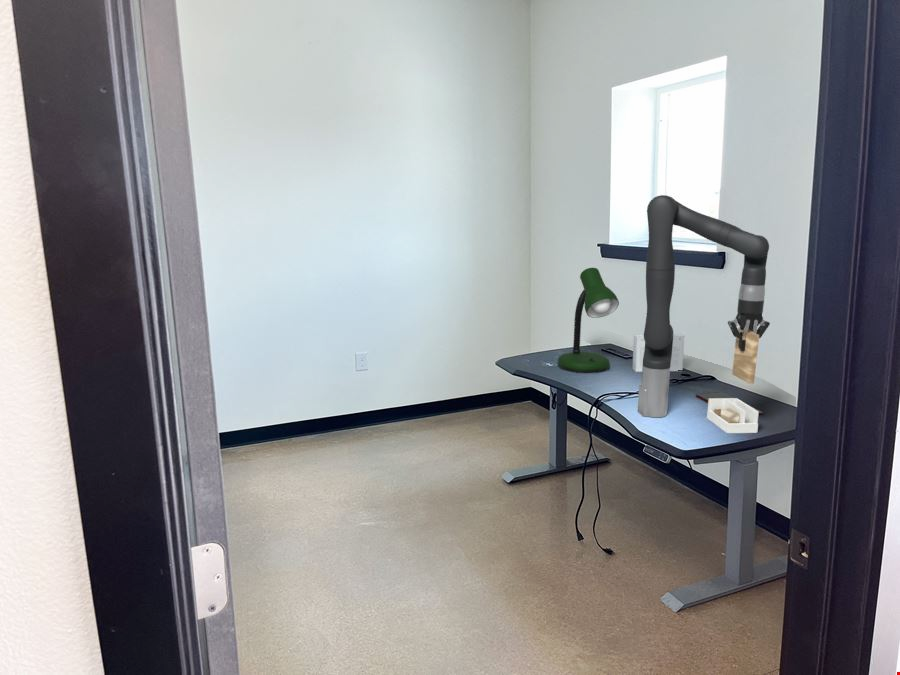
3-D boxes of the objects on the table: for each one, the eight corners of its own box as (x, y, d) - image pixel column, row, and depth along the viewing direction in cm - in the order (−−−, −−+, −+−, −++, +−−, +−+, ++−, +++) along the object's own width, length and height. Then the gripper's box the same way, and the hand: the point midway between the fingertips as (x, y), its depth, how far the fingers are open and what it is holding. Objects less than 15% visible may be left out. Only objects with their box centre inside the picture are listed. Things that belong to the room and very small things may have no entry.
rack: (727, 433, 211) (729, 412, 210) (706, 417, 226) (708, 398, 225) (757, 432, 212) (759, 412, 210) (735, 417, 227) (736, 398, 225)
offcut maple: (728, 422, 213) (729, 413, 213) (720, 417, 218) (721, 408, 217) (738, 421, 214) (739, 413, 213) (729, 416, 219) (730, 408, 218)
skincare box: (678, 368, 291) (680, 333, 288) (682, 371, 286) (685, 336, 283) (631, 368, 291) (633, 333, 287) (635, 372, 285) (637, 336, 282)
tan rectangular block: (748, 383, 210) (753, 335, 207) (732, 374, 221) (736, 328, 218) (753, 383, 210) (759, 334, 207) (737, 374, 221) (742, 328, 218)
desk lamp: (628, 375, 279) (634, 270, 270) (580, 379, 273) (585, 272, 264) (593, 358, 308) (598, 263, 299) (549, 362, 302) (553, 264, 293)
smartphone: (735, 415, 227) (694, 393, 251) (734, 419, 227) (693, 397, 251) (766, 412, 229) (722, 391, 253) (765, 417, 230) (722, 395, 254)
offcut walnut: (719, 423, 220) (720, 412, 220) (713, 420, 224) (714, 409, 223) (728, 423, 221) (729, 412, 220) (722, 419, 224) (723, 408, 223)
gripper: (736, 300, 206) (730, 353, 210) (778, 300, 207) (772, 353, 210) (725, 296, 213) (720, 348, 217) (765, 296, 214) (760, 347, 218)
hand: (745, 350), depth 214 cm, fingers closed on tan rectangular block, 2 cm apart
